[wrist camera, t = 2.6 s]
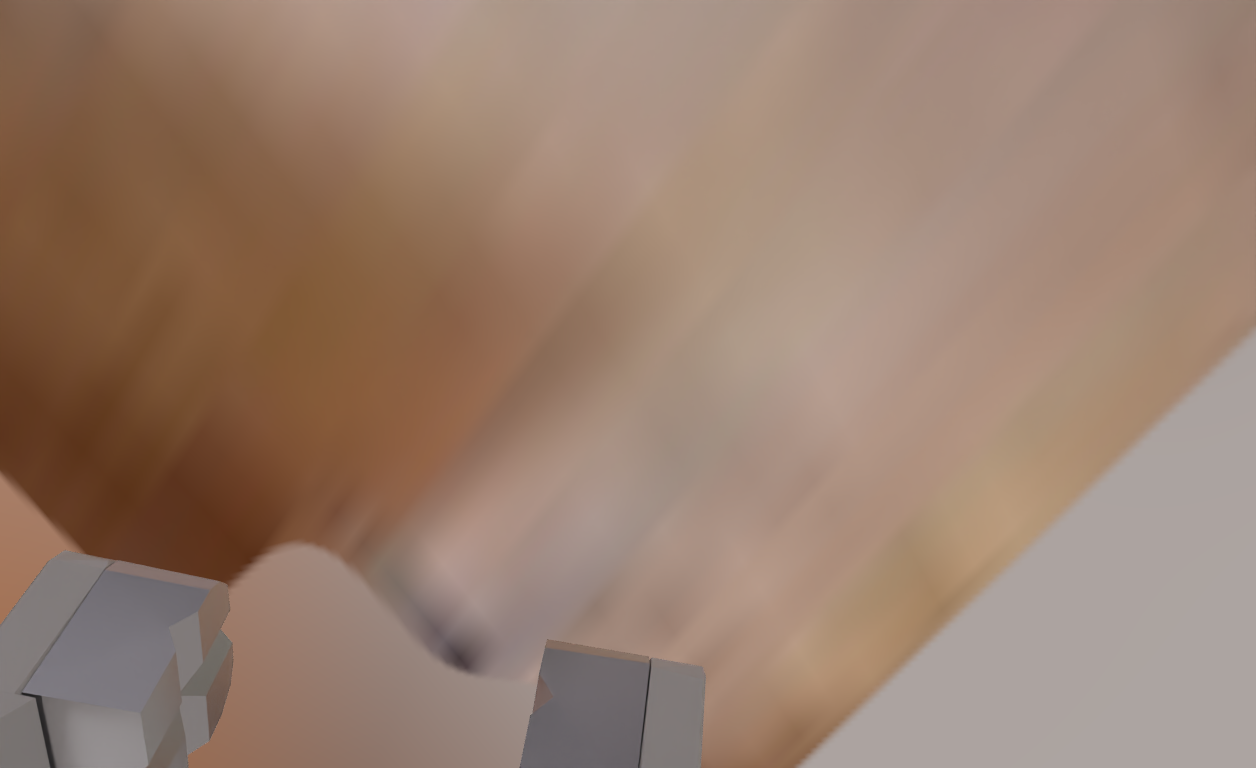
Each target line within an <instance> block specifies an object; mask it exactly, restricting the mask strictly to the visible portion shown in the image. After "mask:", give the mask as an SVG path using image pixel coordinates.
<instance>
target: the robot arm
mask: <svg viewBox="0 0 1256 768" xmlns="http://www.w3.org/2000/svg"><path fill="white" fill-rule="evenodd" d="M229 611H230V604H229V594H228V585H226V584H224V583H222V582H220V581H215V580H210V579H205V578H201V577H196V576H191V575H186V574H181V573H177V572H172V571H167V570H162V569H157V568H152V567H148V566H143V565H138V564H133V563H128V562H124V561H119V560H118V561H116V560H111V559H106V558H101V557H96V556H91V555H86V554H81V553H76V552H71V551H66V550H65V551H63V552H61V553H60V554H59V555H57V556H55V557H54V558H52V559H51V560H50V561H48V562H47V563H46V565H45V566H44V567H43V569H42V570H41V572H40V573H39V574H38V575H37V577H36V578H35V579H34V581H33V582H32V583H31V585H30V586H29V588H28V589H27V590H26V591H25V593H24V594H23V595H22V597H21V598H20V599H19V601H18V602H17V604H16V605H15V606H14V607H13V609H12V610H11V612H10V613H9V614H8V616H7V617H6V618H5V619H4V621H3V622H2V624H1V625H0V768H188V757H187V755H188V754H190V753H191V752H193V751H194V750H196V749H198V748H199V747H201V746H202V745H204V744H205V743H207V742H208V741H209V740H210V738H211V736H212V734H213V732H214V730H215V728H216V725H217V724H218V721H219V719H220V717H221V715H222V712H223V708H224V705H225V701H226V698H227V695H228V691H229V687H230V684H231V677H232V668H233V646H232V645H233V644H232V642H231V641H230V640H229V639H228V637H227V636H226V635H225V634H224V633H223V632H222V631H221V627H222V625H223V623H224V621H225V619H226V617H227V615H228V613H229ZM705 681H706V675H705V672H704V670H703V667H702V666H696V665H691V664H685V663H679V662H674V661H668V660H662V659H657V658H651V659H650V660H649V657H648V656H643V655H637V654H631V653H625V652H619V651H613V650H607V649H601V648H595V647H589V646H583V645H578V644H572V643H566V642H560V641H554V640H548V639H547V642H546V646H545V650H544V654H543V659H542V663H541V668H540V672H539V678H538V684H537V689H536V696H535V701H534V707H533V713H532V714H531V715H530V720H529V725H528V729H527V734H526V740H525V744H524V749H523V754H522V759H521V764H520V768H701V753H702V735H703V717H704V699H705Z"/></svg>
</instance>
